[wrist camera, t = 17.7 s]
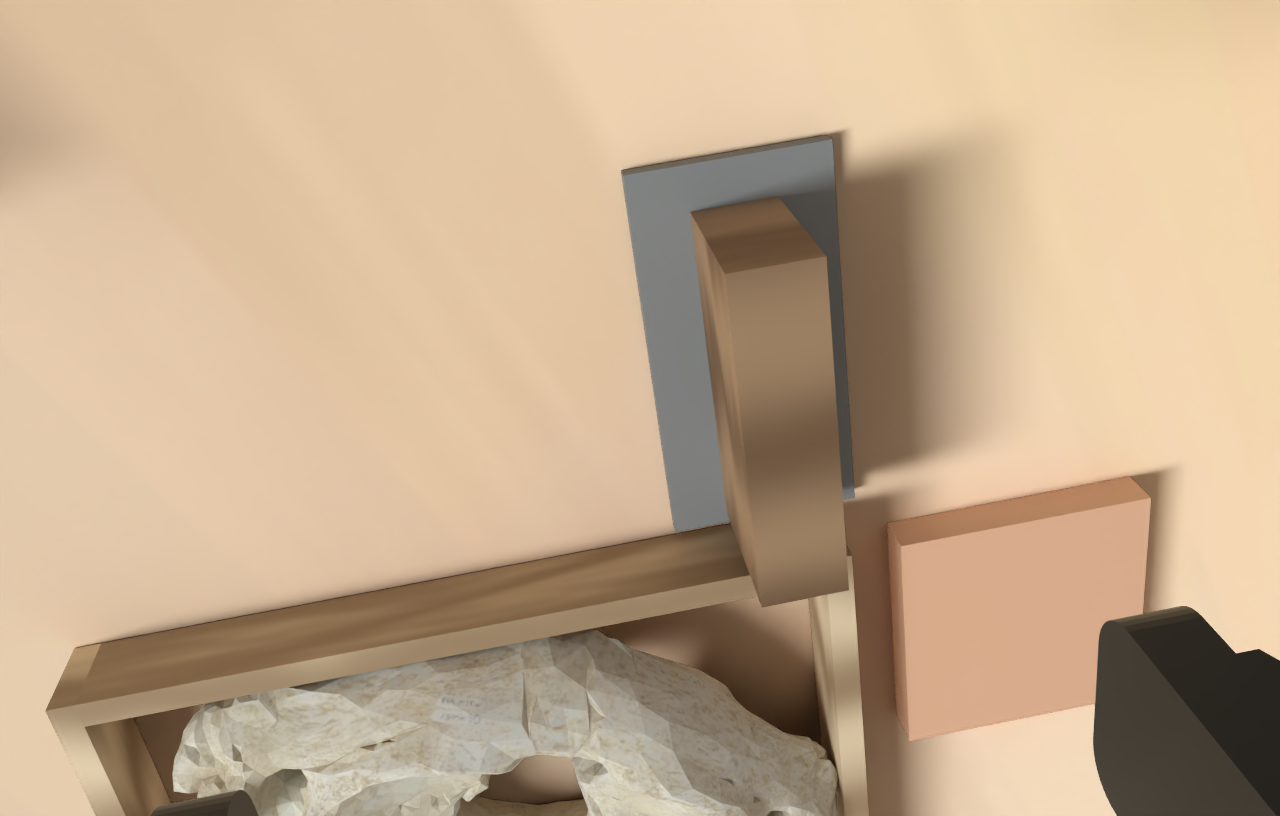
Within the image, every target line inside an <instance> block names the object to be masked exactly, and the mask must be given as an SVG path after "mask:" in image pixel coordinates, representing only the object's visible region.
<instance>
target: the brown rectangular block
mask: <svg viewBox="0 0 1280 816" xmlns="http://www.w3.org/2000/svg"><path fill="white" fill-rule="evenodd" d="M690 216H691V224H692V232H693V240H694V249H695V257H696V265H697V273H698V281H699V289H700V298H701V306H702V314H703V322H704V330H705V339H706V347H707V355H708V363H709V371H710V379H711V388H712V396H713V404H714V412H715V420H716V429H717V437H718V445H719V453H720V461H721V469H722V478H723V486H724V494H725V502H726V510H727V515H728V518H729V520H730V523H731V526H732V528H733V531H734V534H735V536H736V539H737V542H738V544H739V547H740V550H741V552H742V555H743V558H744V560H745V563H746V566H747V569H748V571H749V574H750V577H751V579H752V582H753V585H754V587H755V590H756V593H757V595H758V598H759V601H760V603H761V606H762V607H766V606H771V605H776V604H781V603H786V602H792V601H797V600H802V599H807V598H812V597H817V596H822V595H827V594H833V593H838V592H843V591H848V590H849V581H848V566H847V551H846V537H845V522H844V507H843V492H842V478H841V463H840V448H839V434H838V419H837V404H836V390H835V375H834V360H833V345H832V331H831V316H830V301H829V287H828V272H827V257H826V255H825V254H824V253H823V251H822V250H821V249H820V248H819V246H818V245H817V244H816V243H815V241H814V240H813V239H812V238H811V236H810V235H809V234H808V233H807V232H806V230H805V229H804V228H803V227H802V225H801V224H800V223H799V222H798V220H797V219H796V218H795V217H794V216H793V214H792V213H791V212H790V211H789V209H788V208H787V207H786V206H785V204H784V203H783V202H782V201H781V199H780V198H779V197H778V196H777V197H772V198H766V199H760V200H754V201H749V202H743V203H737V204H732V205H726V206H720V207H715V208H709V209H703V210H697V211H692V212H690Z"/></svg>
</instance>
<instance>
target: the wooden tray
mask: <svg viewBox="0 0 1280 816" xmlns="http://www.w3.org/2000/svg"><path fill="white" fill-rule="evenodd" d="M846 551H847V566H848V581H849V590H848V591H843V592H838V593H833V594H827V595H822V596H817V597H812V598H809V609H810V620H811V631H812V643H813V654H814V666H815V677H816V688H817V700H818V711H819V723H820V734H821V746H822V747H823V748H824V749H825V750H826V753H827V759H828V760H830V761H831V763H832V764H833V765H834V767H835V769H836V771H837V773H838V783H837V786H836V797H837V816H869V809H868V794H867V778H866V763H865V748H864V732H863V717H862V702H861V687H860V671H859V656H858V641H857V625H856V610H855V595H854V579H853V564H852V555H851V553H850V551H849V549H848V547H847V545H846ZM757 596H758V595H757V593H756V590H755V587H754V585H753V582H752V579H751V577H750V574H749V571H748V569H747V566H746V563H745V560H744V558H743V555H742V552H741V550H740V547H739V544H738V542H737V539H736V536H735V534H734V531H733V528H732V526H731V524H726V525H721V526H716V527H711V528H705V529H700V530H695V531H690V532H684V533H679V534H674V535H669V536H663V537H658V538H653V539H648V540H642V541H637V542H632V543H626V544H621V545H616V546H611V547H605V548H600V549H595V550H590V551H584V552H579V553H574V554H569V555H563V556H558V557H553V558H548V559H542V560H537V561H532V562H527V563H521V564H516V565H511V566H506V567H500V568H495V569H490V570H484V571H479V572H474V573H469V574H463V575H458V576H453V577H448V578H442V579H437V580H432V581H427V582H421V583H416V584H411V585H406V586H400V587H395V588H390V589H385V590H379V591H374V592H369V593H363V594H358V595H353V596H348V597H342V598H337V599H332V600H327V601H321V602H316V603H311V604H306V605H300V606H295V607H290V608H285V609H279V610H274V611H269V612H264V613H258V614H253V615H248V616H243V617H237V618H232V619H227V620H221V621H216V622H211V623H206V624H200V625H195V626H190V627H185V628H179V629H174V630H169V631H164V632H158V633H153V634H148V635H143V636H137V637H132V638H127V639H122V640H116V641H111V642H106V643H100V644H95V645H90V646H85V647H79V648H74V650H73V653H72V655H71V657H70V659H69V661H68V663H67V666H66V668H65V670H64V672H63V674H62V676H61V678H60V681H59V683H58V685H57V687H56V689H55V691H54V694H53V696H52V698H51V700H50V702H49V704H48V707H47V709H46V713H47V715H48V717H49V719H50V721H51V724H52V726H53V728H54V730H55V732H56V734H57V736H58V738H59V740H60V742H61V744H62V746H63V748H64V750H65V753H66V755H67V757H68V759H69V761H70V763H71V765H72V767H73V769H74V771H75V773H76V775H77V777H78V780H79V782H80V784H81V786H82V788H83V790H84V792H85V794H86V796H87V798H88V800H89V802H90V804H91V807H92V809H93V811H94V813H95V815H96V816H151V814H152V813H153V811H154V810H155V809H156V808H157V807H159V806H161V805H166V804H171V802H170V799H169V797H168V795H167V792H166V790H165V788H164V786H163V783H162V781H161V779H160V776H159V774H158V772H157V770H156V767H155V765H154V763H153V760H152V758H151V756H150V754H149V751H148V749H147V747H146V744H145V742H144V740H143V738H142V735H141V733H140V731H139V729H138V726H137V724H136V722H135V719H134V717H138V716H143V715H148V714H154V713H159V712H164V711H169V710H174V709H179V708H185V707H190V706H195V705H200V704H205V703H210V702H216V701H221V700H226V699H231V698H236V697H241V696H246V695H252V694H257V693H262V692H267V691H272V690H277V689H283V688H288V687H293V686H298V685H303V684H308V683H314V682H319V681H324V680H329V679H334V678H339V677H345V676H350V675H355V674H360V673H365V672H370V671H376V670H381V669H386V668H391V667H396V666H401V665H406V664H412V663H417V662H422V661H427V660H432V659H437V658H443V657H448V656H453V655H458V654H463V653H468V652H474V651H479V650H484V649H489V648H494V647H499V646H505V645H510V644H515V643H520V642H525V641H530V640H535V639H541V638H546V637H551V636H556V635H561V634H566V633H572V632H577V631H582V630H587V629H592V628H597V627H603V626H608V625H613V624H618V623H623V622H628V621H634V620H639V619H644V618H649V617H654V616H659V615H665V614H670V613H675V612H680V611H685V610H690V609H695V608H701V607H706V606H711V605H716V604H721V603H726V602H732V601H737V600H742V599H747V598H752V597H757Z"/></svg>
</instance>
